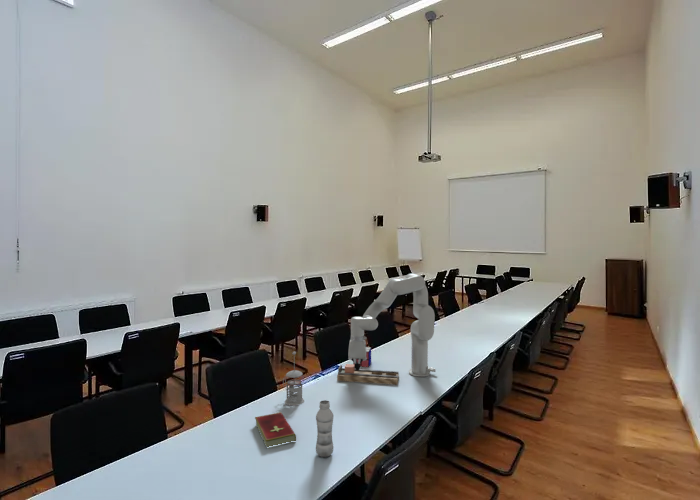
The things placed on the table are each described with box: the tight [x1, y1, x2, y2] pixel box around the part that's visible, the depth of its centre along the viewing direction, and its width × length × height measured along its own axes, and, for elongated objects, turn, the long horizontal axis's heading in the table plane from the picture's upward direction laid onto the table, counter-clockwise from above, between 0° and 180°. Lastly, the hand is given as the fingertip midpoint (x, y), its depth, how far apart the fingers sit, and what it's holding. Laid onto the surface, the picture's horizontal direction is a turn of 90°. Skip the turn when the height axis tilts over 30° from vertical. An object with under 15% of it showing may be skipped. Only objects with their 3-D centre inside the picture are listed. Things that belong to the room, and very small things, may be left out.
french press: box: [282, 351, 305, 407], centre depth 191 cm, size 10×12×25 cm
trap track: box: [336, 364, 400, 386], centre depth 221 cm, size 34×12×6 cm, turn 80°
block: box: [344, 363, 355, 373], centre depth 222 cm, size 5×5×4 cm
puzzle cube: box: [352, 346, 372, 368], centre depth 245 cm, size 10×10×10 cm
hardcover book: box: [254, 411, 297, 447], centre depth 160 cm, size 12×21×4 cm, turn 25°
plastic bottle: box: [315, 399, 335, 458], centre depth 144 cm, size 6×7×20 cm
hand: (357, 369), depth 222 cm, fingers closed
